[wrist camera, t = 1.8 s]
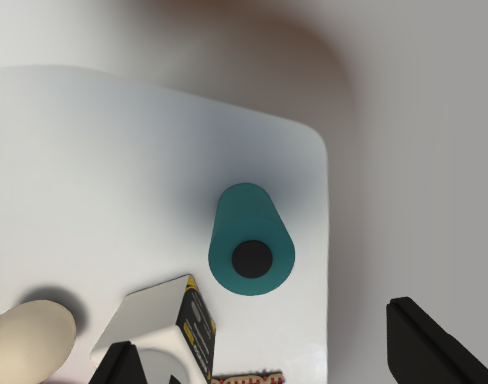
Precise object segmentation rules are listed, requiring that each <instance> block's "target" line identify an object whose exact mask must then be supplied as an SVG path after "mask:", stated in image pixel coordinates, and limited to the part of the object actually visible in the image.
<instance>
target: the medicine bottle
mask: <svg viewBox="0 0 488 384" xmlns="http://www.w3.org/2000/svg"><path fill="white" fill-rule="evenodd" d="M215 334H216V328H215V325H214V323H213V321H212V319H211V317H210V315H209V312H208V310H207V308H206V306H205V304H204V301H203V299H202V297H201V295H200V293H199V291H198V288H197V286H196V284H195V282H194V280H193V277H192V276H191V275H187V276H184V277H181V278H178V279H175V280H172V281H169V282H166V283H163V284H160V285H157V286H154V287H151V288H148V289H145V290H142V291H139V292H136V293H133V294H130V295H128V296H126V297H125V299H124V300H123V302H122V303H121V305H120V307H119V308H118V310H117V311H116V313H115V315H114V316H113V318H112V319H111V321H110V323H109V324H108V326H107V327H106V329H105V331H104V332H103V334H102V335H101V337H100V339H99V340H98V342H97V343H96V345H95V346H94V348H93V350H92V351H91V353H90V356H89V357H90V360H91V361H92V363H93V364H94V366H95V367H96V369H97V368H98V366H99V364H100V363H101V361H102V359H103V357H104V356H105V354H106V352H107V350H108V349H109V347H110V346H111V344H112V343H116V342H122V341H130V342H131V343H132V344H135V345H136V347H137V351H138V354H139V357H140V360H141V364H142V367H143V370H144V373H145V377H146V380H147V383H148V384H211V381H212V369H213V357H214V346H215Z"/></svg>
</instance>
